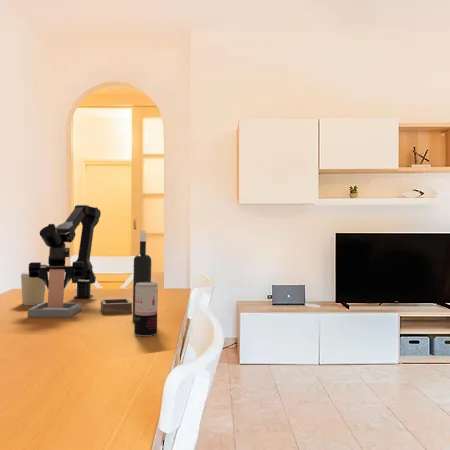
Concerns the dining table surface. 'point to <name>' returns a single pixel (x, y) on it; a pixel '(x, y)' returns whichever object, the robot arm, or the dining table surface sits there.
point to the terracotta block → (56, 288)
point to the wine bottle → (141, 267)
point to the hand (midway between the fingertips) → (56, 288)
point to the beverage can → (146, 308)
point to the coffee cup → (32, 290)
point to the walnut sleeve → (116, 306)
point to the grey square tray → (54, 310)
